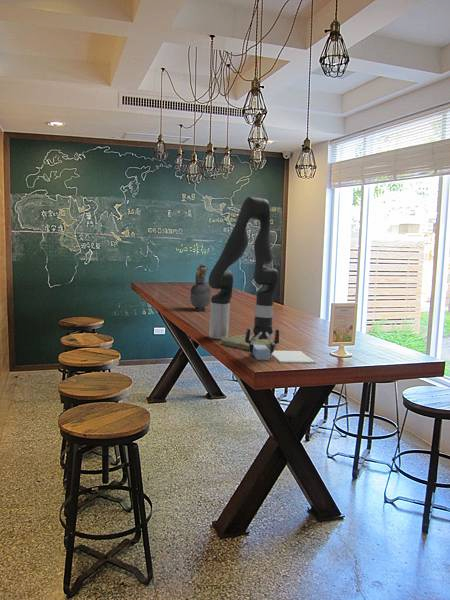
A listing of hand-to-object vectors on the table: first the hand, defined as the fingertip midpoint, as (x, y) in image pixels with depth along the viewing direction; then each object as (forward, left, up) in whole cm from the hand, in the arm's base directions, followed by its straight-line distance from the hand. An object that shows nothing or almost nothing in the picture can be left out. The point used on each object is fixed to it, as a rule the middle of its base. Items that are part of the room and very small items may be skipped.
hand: (261, 353), depth 225 cm
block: (0, 0, -2) cm, 2 cm away
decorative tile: (-21, 0, -2) cm, 21 cm away
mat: (+1, +13, -2) cm, 13 cm away
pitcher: (-125, -10, -2) cm, 126 cm away
